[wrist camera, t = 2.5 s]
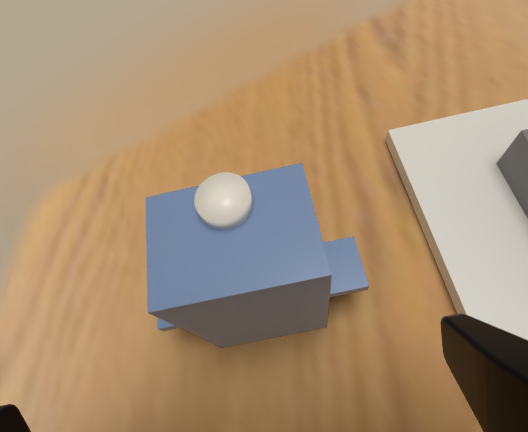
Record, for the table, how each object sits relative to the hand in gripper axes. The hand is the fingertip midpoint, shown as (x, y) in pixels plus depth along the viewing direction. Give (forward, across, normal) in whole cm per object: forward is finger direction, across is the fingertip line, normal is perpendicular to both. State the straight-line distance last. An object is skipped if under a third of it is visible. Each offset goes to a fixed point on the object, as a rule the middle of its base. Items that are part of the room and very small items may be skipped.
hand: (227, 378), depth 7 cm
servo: (+11, 0, +5) cm, 12 cm away
